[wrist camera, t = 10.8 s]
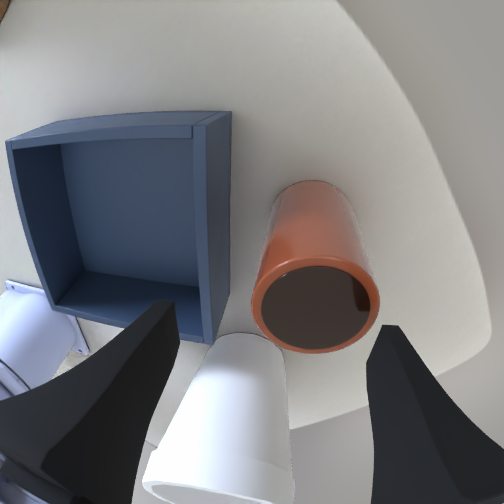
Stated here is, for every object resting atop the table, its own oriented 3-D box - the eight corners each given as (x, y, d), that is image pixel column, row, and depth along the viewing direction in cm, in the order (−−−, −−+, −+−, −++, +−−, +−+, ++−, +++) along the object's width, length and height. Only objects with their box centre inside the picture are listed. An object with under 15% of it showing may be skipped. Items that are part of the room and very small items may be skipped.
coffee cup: (267, 252, 20) (248, 348, 13) (272, 175, 18) (253, 249, 11) (345, 260, 20) (361, 359, 13) (360, 186, 17) (396, 264, 10)
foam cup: (277, 305, 22) (251, 487, 11) (317, 379, 26) (311, 520, 15) (171, 332, 25) (112, 472, 14) (224, 394, 29) (195, 515, 18)
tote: (84, 271, 24) (51, 310, 19) (56, 121, 17) (4, 141, 13) (230, 293, 22) (213, 345, 18) (231, 111, 16) (206, 125, 12)
